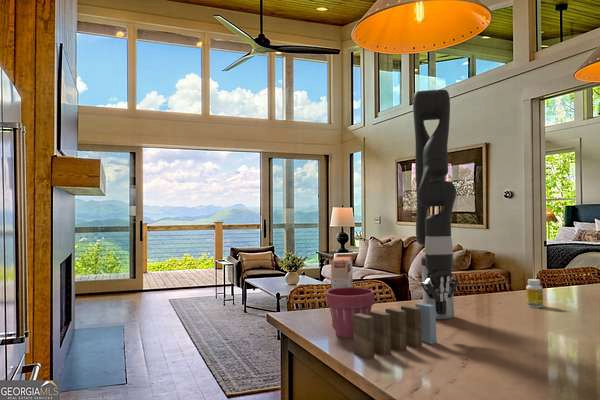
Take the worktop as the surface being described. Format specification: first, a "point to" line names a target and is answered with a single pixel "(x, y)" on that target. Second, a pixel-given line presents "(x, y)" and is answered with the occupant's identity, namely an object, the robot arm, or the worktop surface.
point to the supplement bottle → (534, 293)
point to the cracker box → (341, 273)
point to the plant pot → (348, 307)
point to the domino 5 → (428, 322)
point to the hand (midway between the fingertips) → (441, 314)
